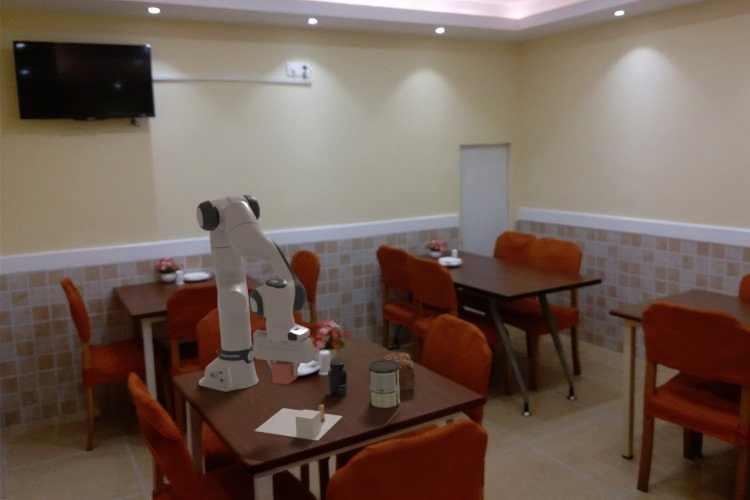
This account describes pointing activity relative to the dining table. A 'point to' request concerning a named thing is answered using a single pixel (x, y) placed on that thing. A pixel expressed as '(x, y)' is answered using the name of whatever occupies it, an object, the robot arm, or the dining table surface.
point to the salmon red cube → (282, 372)
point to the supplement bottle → (337, 379)
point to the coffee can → (384, 383)
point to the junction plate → (293, 424)
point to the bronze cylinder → (322, 412)
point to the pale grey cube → (308, 423)
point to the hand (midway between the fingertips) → (284, 373)
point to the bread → (404, 370)
